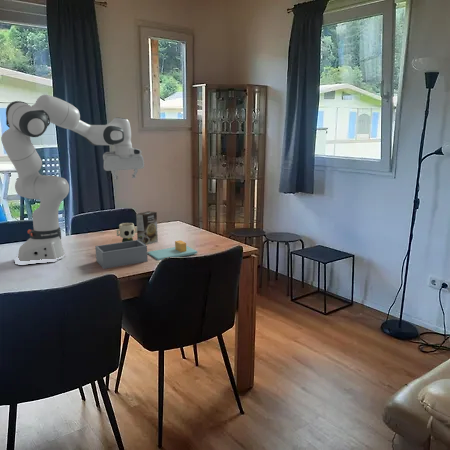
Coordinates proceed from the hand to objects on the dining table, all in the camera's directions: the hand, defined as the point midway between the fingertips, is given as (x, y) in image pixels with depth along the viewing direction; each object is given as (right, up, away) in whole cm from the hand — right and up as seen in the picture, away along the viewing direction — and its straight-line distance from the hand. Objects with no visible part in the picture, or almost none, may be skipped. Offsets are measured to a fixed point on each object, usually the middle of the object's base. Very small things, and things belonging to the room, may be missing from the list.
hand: (125, 178), depth 225 cm
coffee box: (+10, -33, +9) cm, 36 cm away
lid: (+25, -38, -12) cm, 48 cm away
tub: (+4, -41, -24) cm, 47 cm away
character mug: (+2, -36, -3) cm, 36 cm away
